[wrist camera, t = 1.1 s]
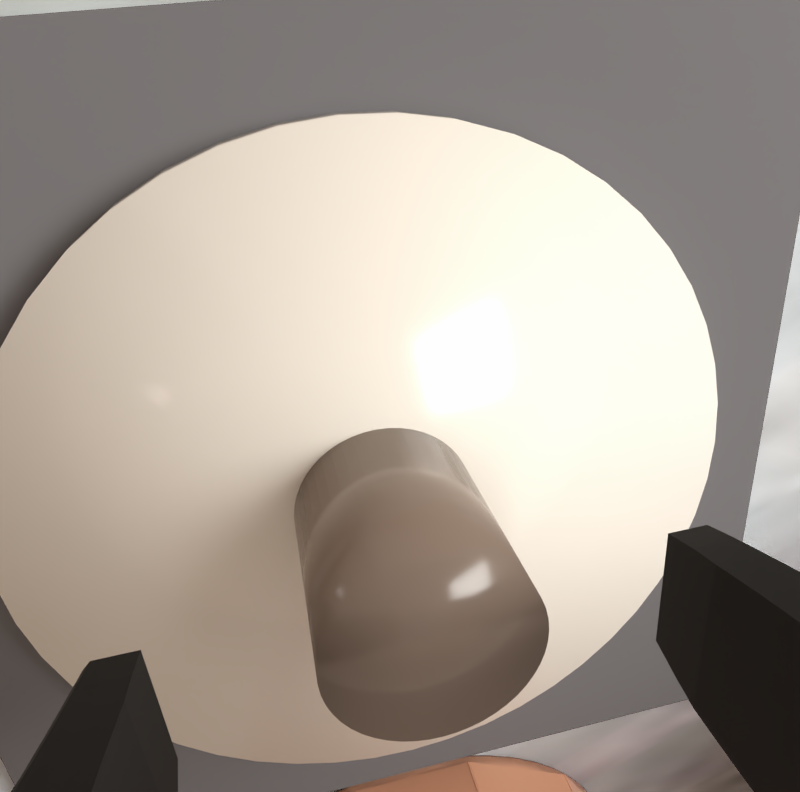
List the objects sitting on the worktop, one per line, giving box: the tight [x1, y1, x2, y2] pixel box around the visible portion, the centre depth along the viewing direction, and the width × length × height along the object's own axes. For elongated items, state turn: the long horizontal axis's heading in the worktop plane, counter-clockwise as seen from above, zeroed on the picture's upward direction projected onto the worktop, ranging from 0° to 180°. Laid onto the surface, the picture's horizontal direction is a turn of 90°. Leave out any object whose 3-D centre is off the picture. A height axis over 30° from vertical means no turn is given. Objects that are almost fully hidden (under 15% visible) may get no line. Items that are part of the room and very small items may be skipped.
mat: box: [0, 0, 800, 792], centre depth 13 cm, size 16×16×1 cm
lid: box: [0, 111, 718, 764], centre depth 11 cm, size 13×13×4 cm
